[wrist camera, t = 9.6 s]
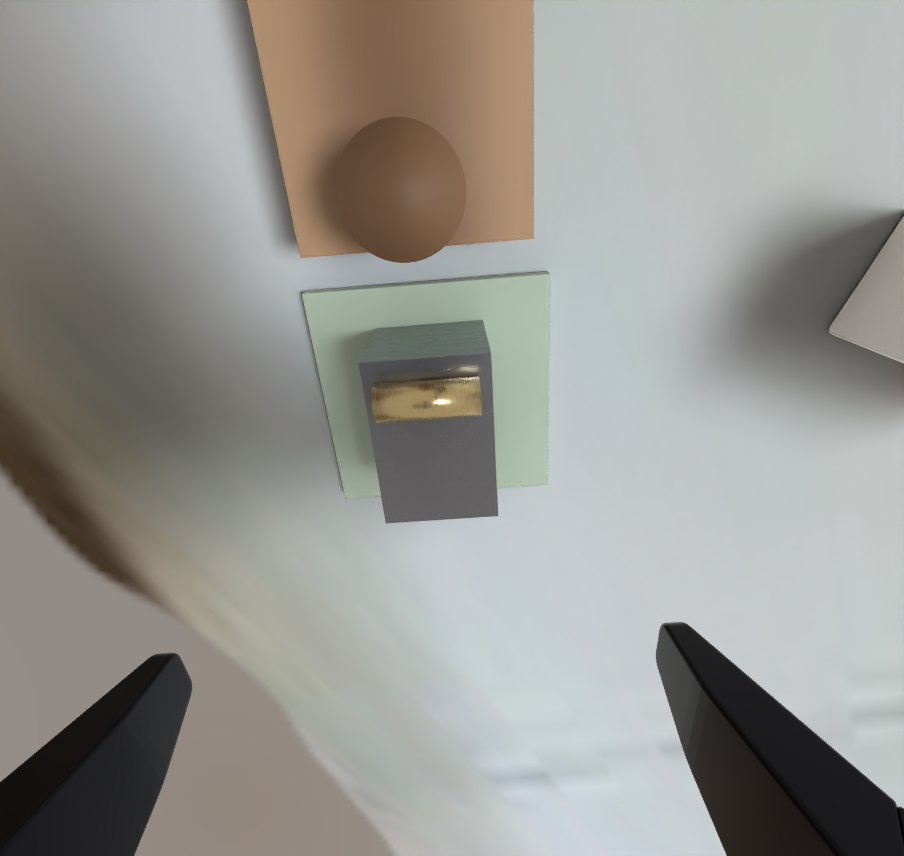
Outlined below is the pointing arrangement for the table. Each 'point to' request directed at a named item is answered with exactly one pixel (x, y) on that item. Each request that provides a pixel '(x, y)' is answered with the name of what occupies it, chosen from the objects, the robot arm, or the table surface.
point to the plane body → (401, 121)
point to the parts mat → (430, 302)
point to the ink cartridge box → (878, 303)
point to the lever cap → (432, 420)
